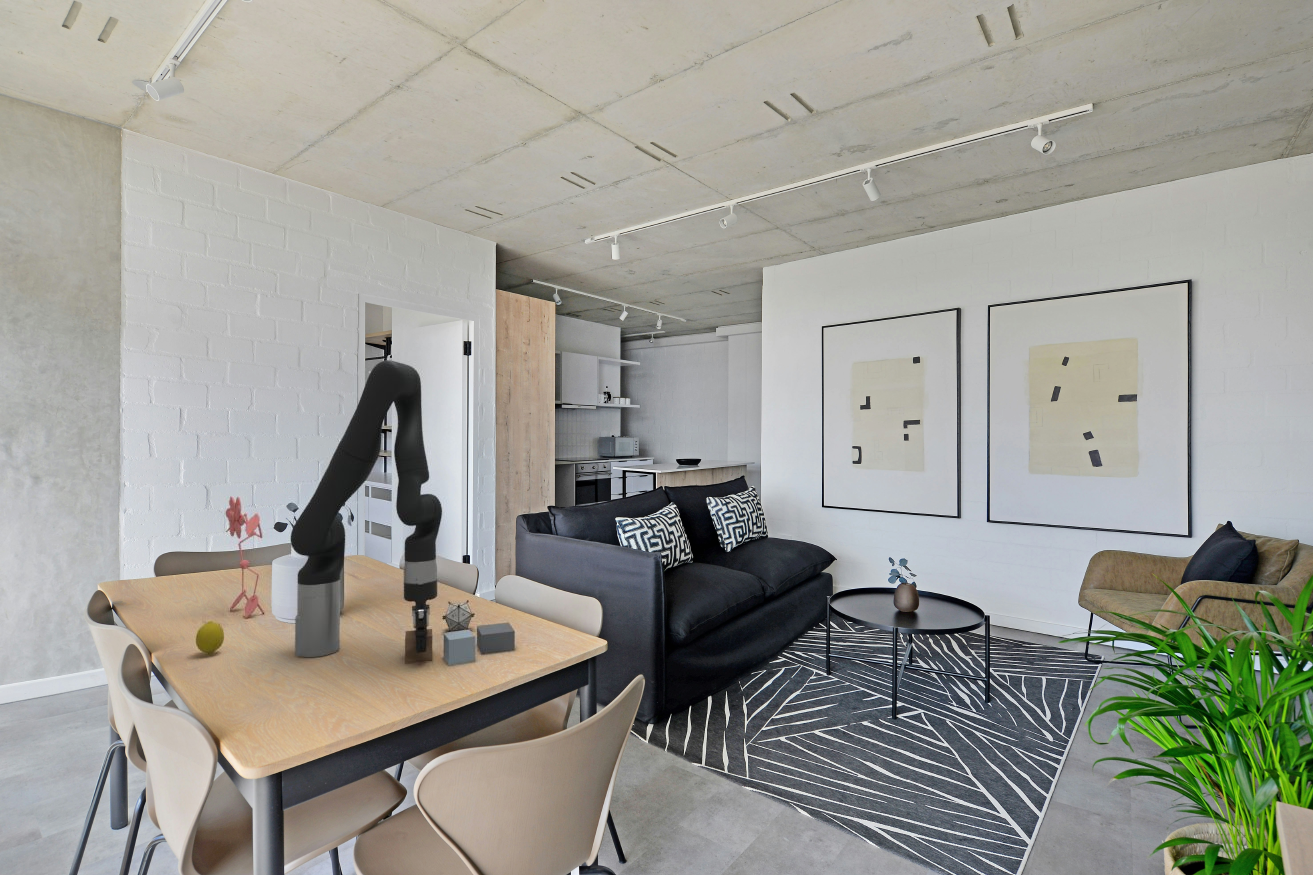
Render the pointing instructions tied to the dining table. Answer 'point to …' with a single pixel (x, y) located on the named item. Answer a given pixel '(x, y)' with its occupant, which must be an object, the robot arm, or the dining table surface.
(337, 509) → the robot arm
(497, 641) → the charcoal block
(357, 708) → the dining table surface
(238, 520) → the pink stick figure
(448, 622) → the game die
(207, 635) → the lemon
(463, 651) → the slate cube
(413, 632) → the walnut cube
